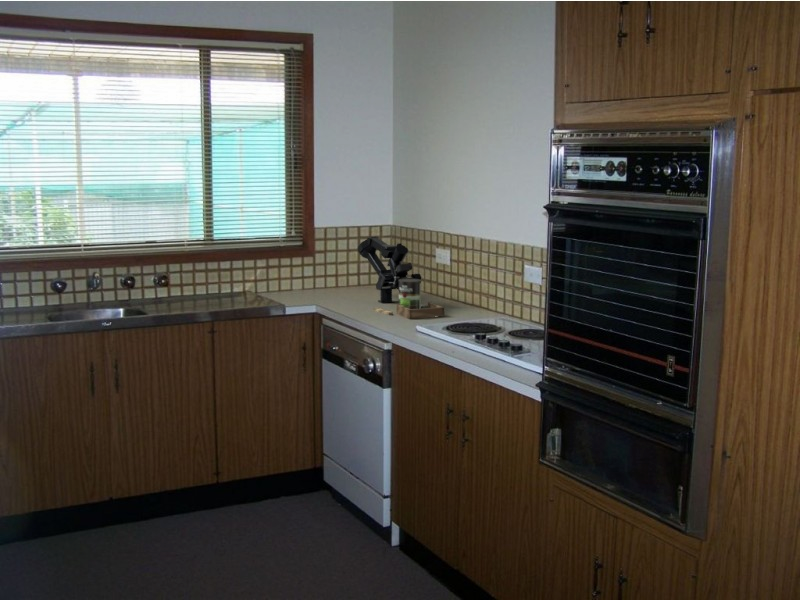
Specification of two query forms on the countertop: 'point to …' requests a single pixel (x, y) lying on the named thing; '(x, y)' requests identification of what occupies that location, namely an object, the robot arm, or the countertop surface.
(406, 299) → the coffee can
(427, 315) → the walnut cubby
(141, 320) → the countertop surface
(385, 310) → the oak stirring stick
